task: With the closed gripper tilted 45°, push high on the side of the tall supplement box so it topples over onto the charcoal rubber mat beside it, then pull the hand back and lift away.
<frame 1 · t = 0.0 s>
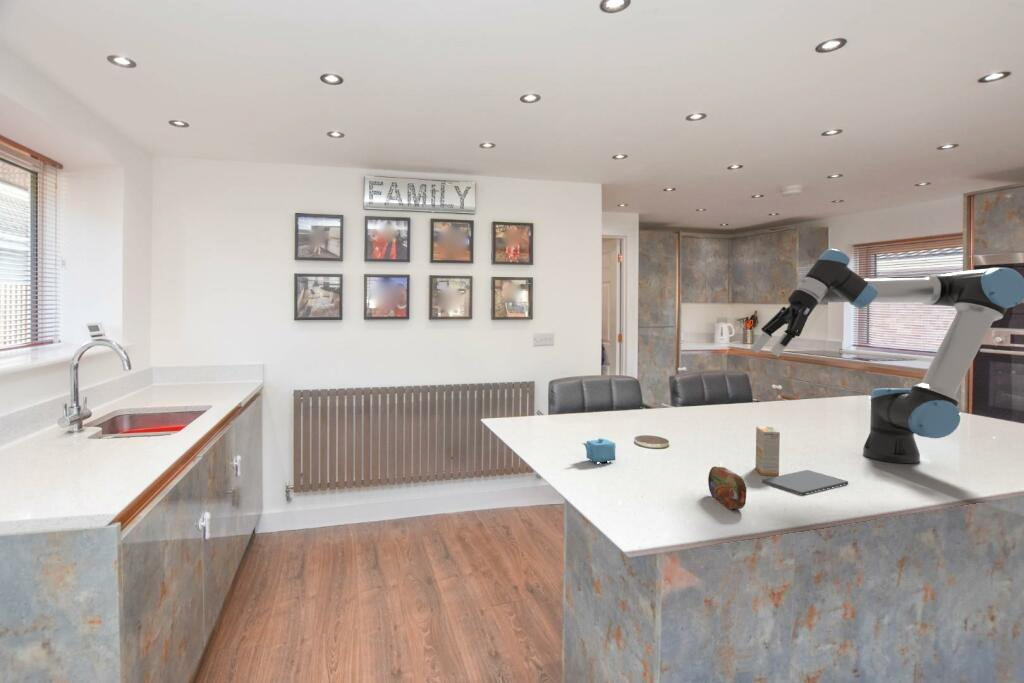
hand: (763, 352, 158), 36 cm above the countertop, tool tilted 35°, fingers open, 13 cm apart
teapot: (598, 462, 168), on the countertop
supplement box: (767, 472, 156), on the countertop
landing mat: (804, 483, 146), on the countertop
multicoloured flat oval slab: (726, 504, 131), on the countertop
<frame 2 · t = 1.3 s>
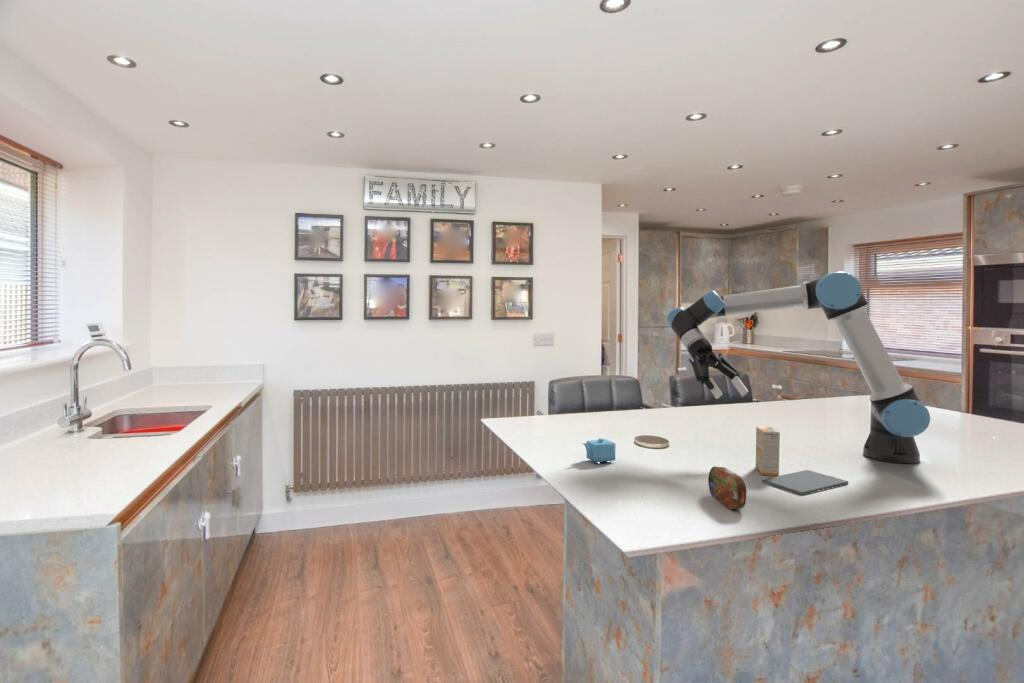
hand: (732, 395, 167), 21 cm above the countertop, tool tilted 45°, fingers open, 11 cm apart
nothing on the countertop moved.
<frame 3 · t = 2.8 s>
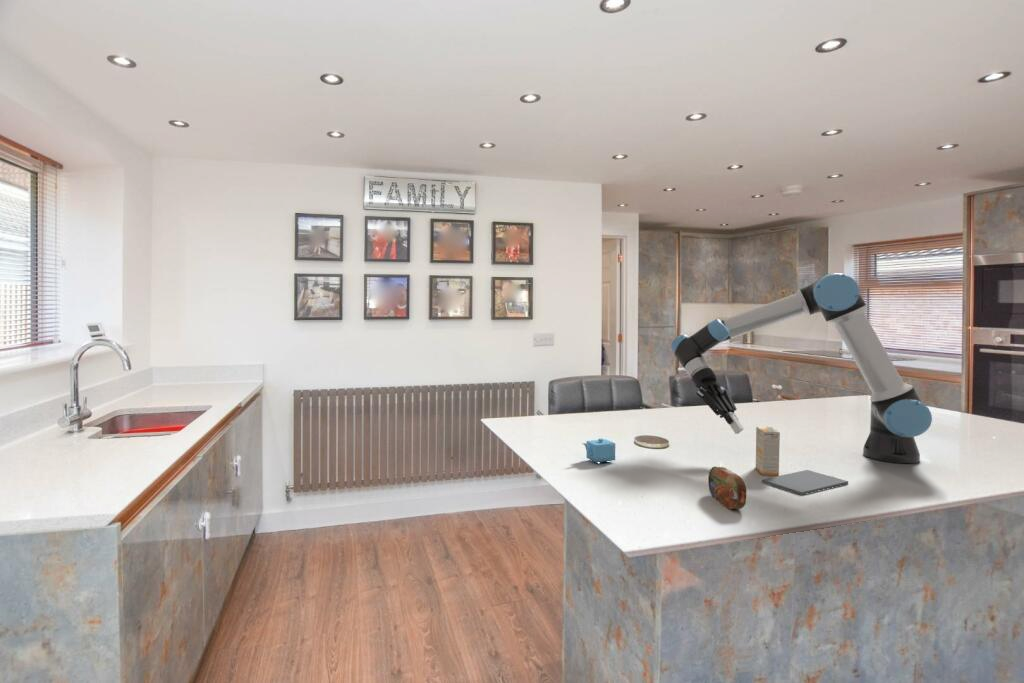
hand: (739, 431, 164), 10 cm above the countertop, tool tilted 45°, fingers closed
nothing on the countertop moved.
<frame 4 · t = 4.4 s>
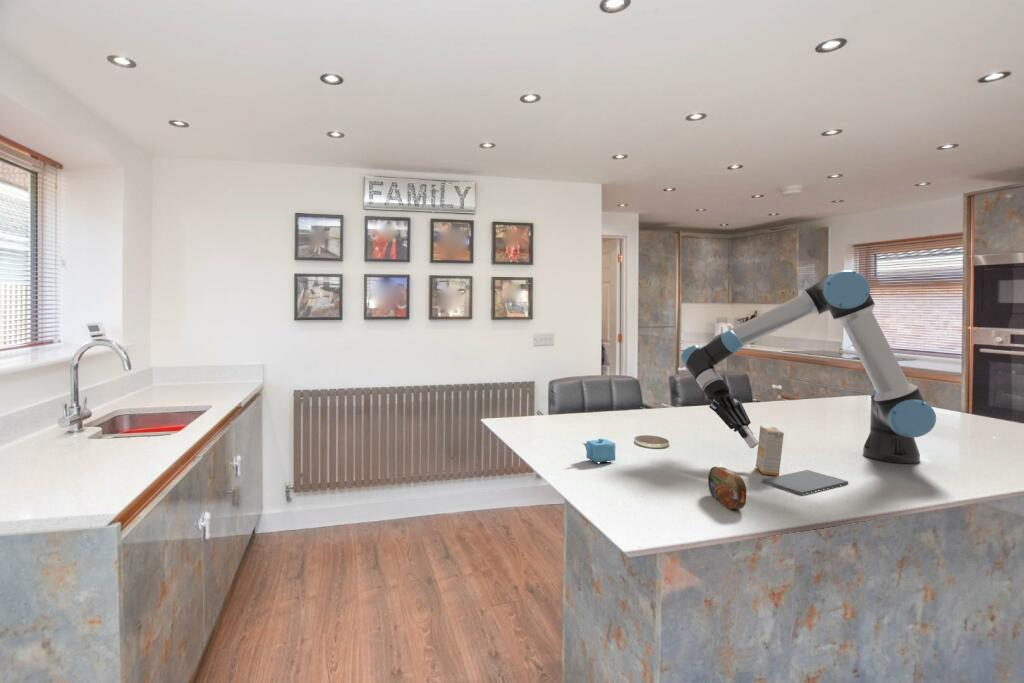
hand: (754, 445, 160), 7 cm above the countertop, tool tilted 45°, fingers closed
supplement box: (767, 471, 156), on the countertop, touching gripper
everything else where it was.
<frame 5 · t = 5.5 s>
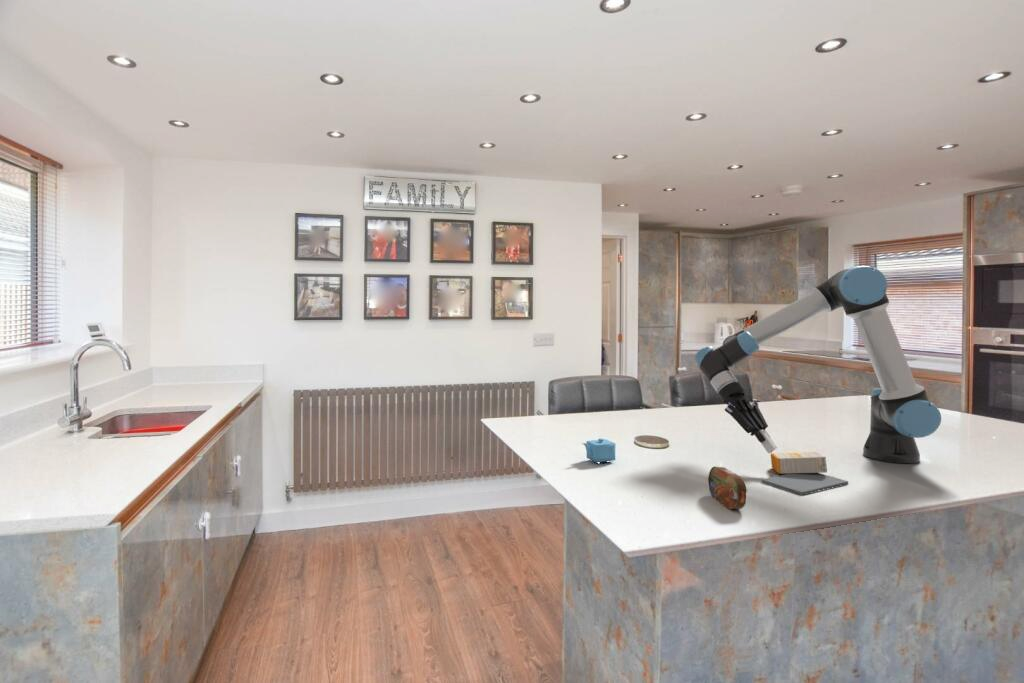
hand: (772, 450, 154), 7 cm above the countertop, tool tilted 45°, fingers closed
supplement box: (773, 463, 157), point 2 cm above the countertop, touching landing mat
everything else where it was.
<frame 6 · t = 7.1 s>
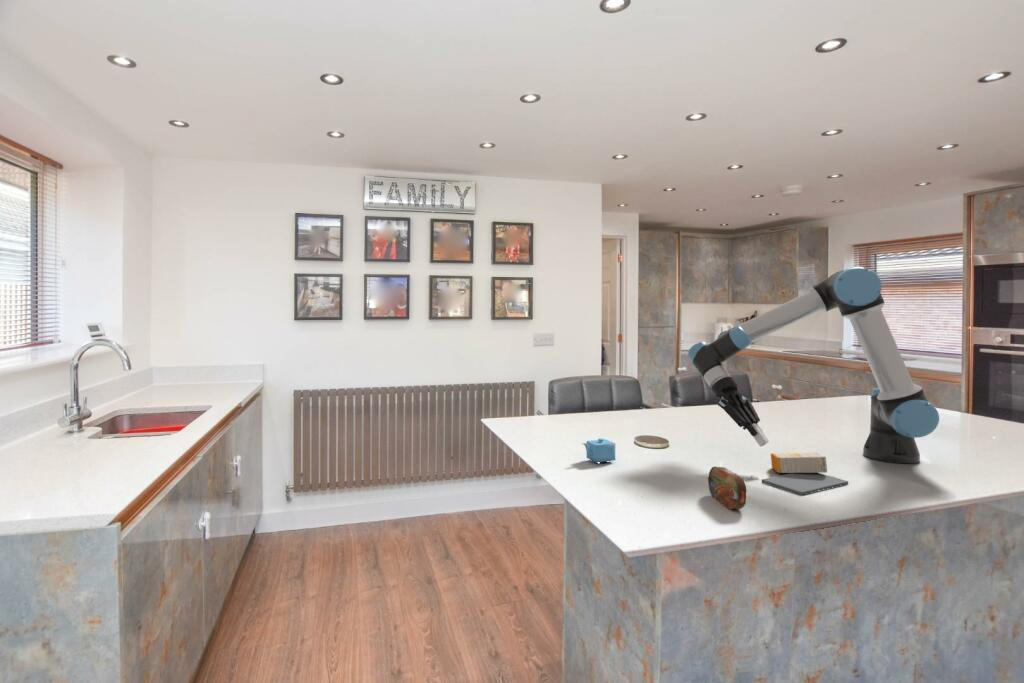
hand: (764, 443, 157), 8 cm above the countertop, tool tilted 45°, fingers closed
supplement box: (773, 463, 157), point 3 cm above the countertop, touching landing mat
everything else where it was.
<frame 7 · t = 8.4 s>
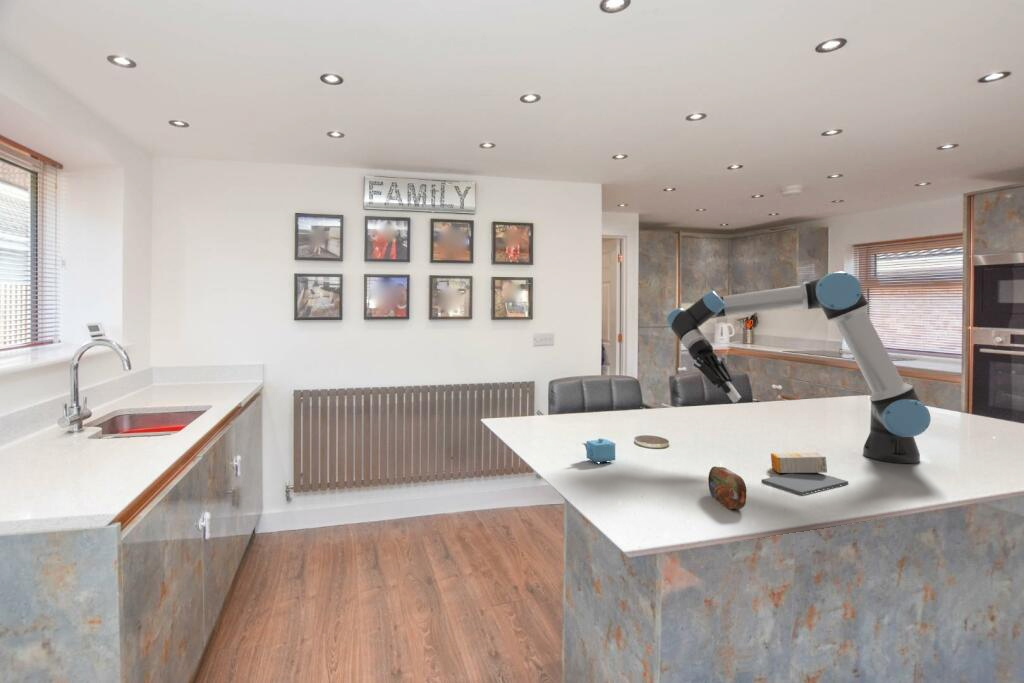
hand: (737, 399, 165), 20 cm above the countertop, tool tilted 45°, fingers closed
nothing on the countertop moved.
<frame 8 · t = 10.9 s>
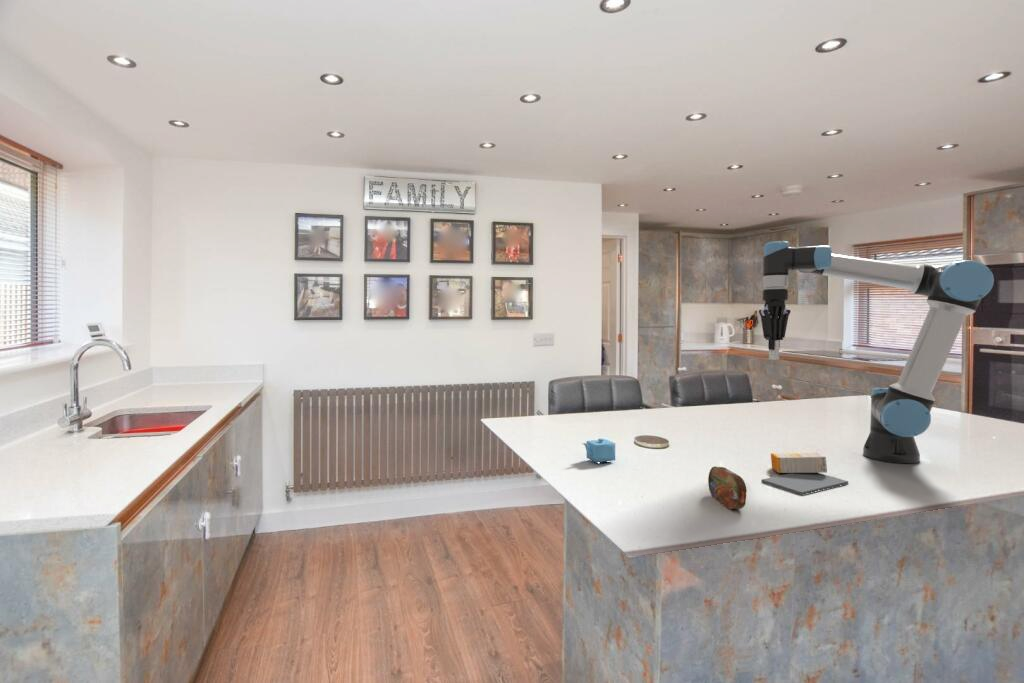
hand: (773, 359, 173), 32 cm above the countertop, tool pointing down, fingers closed
nothing on the countertop moved.
at the end: supplement box tilted 85°; supplement box touching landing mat, countertop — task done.
